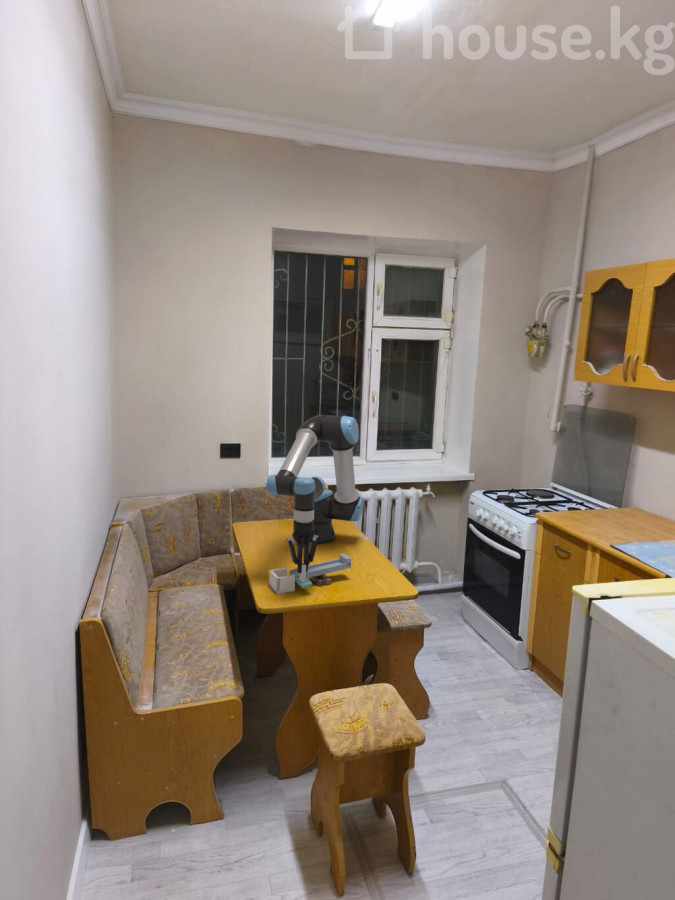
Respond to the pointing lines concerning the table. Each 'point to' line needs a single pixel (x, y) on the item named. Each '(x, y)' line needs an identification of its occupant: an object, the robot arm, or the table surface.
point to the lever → (322, 569)
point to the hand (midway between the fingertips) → (302, 580)
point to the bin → (281, 581)
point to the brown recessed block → (321, 580)
